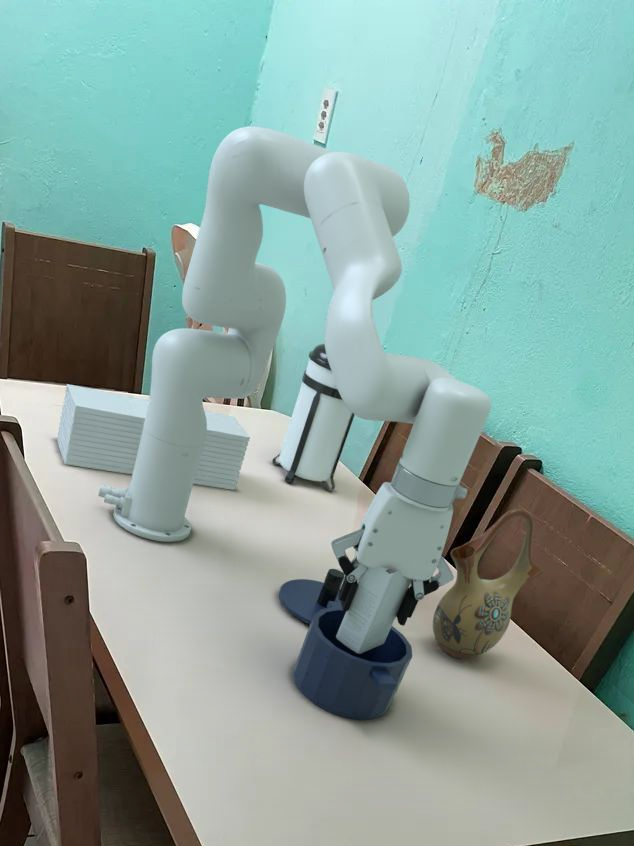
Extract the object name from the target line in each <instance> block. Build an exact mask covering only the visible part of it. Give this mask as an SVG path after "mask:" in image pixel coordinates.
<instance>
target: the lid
mask: <svg viewBox="0 0 634 846" xmlns="http://www.w3.org/2000/svg"><path fill="white" fill-rule="evenodd" d="M344 578H345V574H344V572H343V571H342V570H339V569H336V568H329V569H328V570H327V573H326V575H325V579H324V581H319V580H314V579H307V578H299V579H291V580H287V581H286V582H284V583H283V584H282V585H281V586H280V588H279V590H278V598H279V601H280V603H281V604H282V606H283V607H284V608H285V609H286V611H288V612H289V613H290V614H292V616H294V617H295V618H297V619H299V620H300V621H302V622H304V623H306V624H308V625H310V624H311V621H312V618H313V616H314V615H315V614H316V613H317V612H319V611H320V610H321V609H326V608H327V604H328V602H329V601H334V602H341V601H340V600H338V594H339V591H340V588H341V586H342V583H343V581H344Z"/></svg>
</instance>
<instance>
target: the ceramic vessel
mask: <svg viewBox="0 0 634 846" xmlns="http://www.w3.org/2000/svg"><path fill="white" fill-rule="evenodd" d="M517 517H519V518H523V519H524V520H525V522H526V523H525V524H526V525H525V533H524V538H523V542H522V546H521V549H520V552H519V553H518V556H517V559H516V561H515V563H514V564H513V565H512V567H511V568H510V570H509V571H507V573H505V574H504V575H502V576H500V577H498V578H495V579H486V578H485V579H483V578H480V577H479V574H478V565H479V562H480V559H481V558H482V555H483V554H484V552H485V550H487V548H488V546H489V545H490V543H491V542H492V540H493V539H494V538H495V537H496V535H497V534H498V533H499V531H500V530H501V529H502V528H503V526H505V525H506V523H507V522H509V520H511V519H513V518H517ZM534 529H535V520H534V517H533V515H532V513H531V512H530V511H528V510H525V509H524V508H515V509H511V510H508V511H507V512H505V513H503V515H501V516H500V517H499V518H498V519H497V520H496V522H494V523H493V524H492V525H491V526H490V527H489V528H488V529H486V531H484V532H482V533H481V534H480V535H478V536H477V537H475V538H473V539H471V540H470V541H468V542H466V543H463V544H462V545H460V546H455V547H454V548H452V549H451V550H450V553H449V555H450V558H451V559H452V561H453V563H454V566H455V568H456V578H455V579H456V580H455V582H454V584H453V585H452V586H451V587H450V588H449V589H448V590H447V591H446V592H445V593H444V595H443V596H442V597H441V598H440V599H439V602H438V604H437V606H436V608H435V611H434V613H433V618H432V632H433V637H434V639H435V642H436V644H437V645H438V647H439V648H440V650H442V651H443V653H445V654H447V655H449V656H451V657H454V658H456V659H465V660H466V659H472V658H475V657H478V656H481V655H483V654H485V653H486V652H488V651H490V650H491V649H493V647H495V646H496V645H497V644H498V643H499V641H501V639H502V638H503V636H505V634H506V631H507V630H508V627H509V625H510V622H511V618H512V610H513V602H514V599H515V597H516V596H517V594H518V592H519V591H520V589H522V587H523V586H524V585H525V584H527V583H528V582H530V581H532V580H533V579H535V578H536V577H538V576H541V575H542V574H544V573H545V572H544V570H543V569H542V568H541V567H540V566H539V565H537V564H536V562H534V560H533V559H532V545H533V537H534Z"/></svg>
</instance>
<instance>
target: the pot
mask: <svg viewBox="0 0 634 846" xmlns="http://www.w3.org/2000/svg"><path fill="white" fill-rule="evenodd" d="M345 613H346V611H343V610H342V606H341V602H334V601H329V602H328V604H327V608H326V609H321V610H320V611H319V612H317V613H316V614H315V615H314V616H313V618H312V621H311V624H309V627H308V629H307V632H306V634H305V637H304V641H303V643H302V645H301V648H300V651H299V654H298V656H297V659H296V661H295V665H294V669H293V675H292V677H293V681H294V683H295V685H296V687H297V689H298V691H300V693H301V694H302V695H303V696H304V697H305V698H306V699H307V700H309V701H310V702H311V703H313V704H314V705H315V706H317V707H319V708H321V709H323V710H325V711H326V712H329V713H332V714H334V715H336V716H339V717H342V718H346V719H347V718H348V719H352V720H372V719H377V718H379V717H381V716H383V715H384V714H385V713H386V712H387V711H388V709H389V708H390V706H392V702H393V701H394V698H395V697H396V694H397V691H398V690H399V688H400V686H401V682H402V680H403V678H404V676H405V674H406V671H407V670H408V668H409V665H410V663H411V660H412V658H413V649H412V645H411V644H410V642H409V640H408V639H407V638H406V636H405V635H404V634H403V633H402V632H401V631H400V630H398V629H397V628H396V627H394V626H393V625H392V626H391V629H390V631H389V633H388V636H387V638H386V640H385V642H384V644H382V645H380V646H377V647H375V648H372V649H370V650H368V651H365V652H363V653H361V654H358V653H356V652H354V651H353V650H351V649H350V648H348V647H347V646H345V645H344V644H343V643H341V642H340V641H339V640H338V639H337V638H336V635H337V633H338V630H339V628H340V625H341V623H342V621H343V618H344V616H345Z"/></svg>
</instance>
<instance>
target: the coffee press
mask: <svg viewBox="0 0 634 846" xmlns="http://www.w3.org/2000/svg"><path fill="white" fill-rule="evenodd" d="M301 380H302V382H301V386H300V389H299V392H298V395H297V397H296V401H295V404H294V408H293V411H292V414H291V416H290V417H291V418H290V420H289V424H288V427H287V430H286V433H285V437H284V440H283V443H282V446H281V449H280V452H279V454H278V455H277V456H275V457H273V458H272V464H273V465H274V466H279V465H280V466H281V467H282V468H283V469H284V470H286V471H287V472H288V473H287V474H286V476H285V477H284V482H286V483H288V484H289V485H292V484H293V483H294V482H295V480H296V479H297V478H301V479H304V480H308V481H312V482H321V483H322V484H323V485H324V487H325V489H326V491H328V492H331V491H334V490H335V489H336V484H335V480H334V479H335V478H334V476H335V473H336V470H337V466H338V464H339V460H340V458H341V455H342V452H343V449H344V447H345V445H346V441H347V438H348V435H349V432H350V429H351V427H352V423H353V421H354V418H355V416H356V415H355V414H354V413H352V412H351V411H350V410H349V408H348V407H347V406H346V405H345V403H344V401H343V399H342V398H341V396H340V394H339V391H338V389H337V386H336V383H335V380H334V377H333V374H332V371H331V368H330V365H329V362H328V359H327V355H326V350H325V343H320V344H318V345H316V346H315V347H314V348H313V349H312V350H311V351H309V353H308V362H307V366H306V369H305V370H304V372H303V374H302V378H301ZM277 459H278V461H279V463H278V462H277ZM328 480H330V484H331V488H330V486H329V483H328V482H327V481H328Z"/></svg>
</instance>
